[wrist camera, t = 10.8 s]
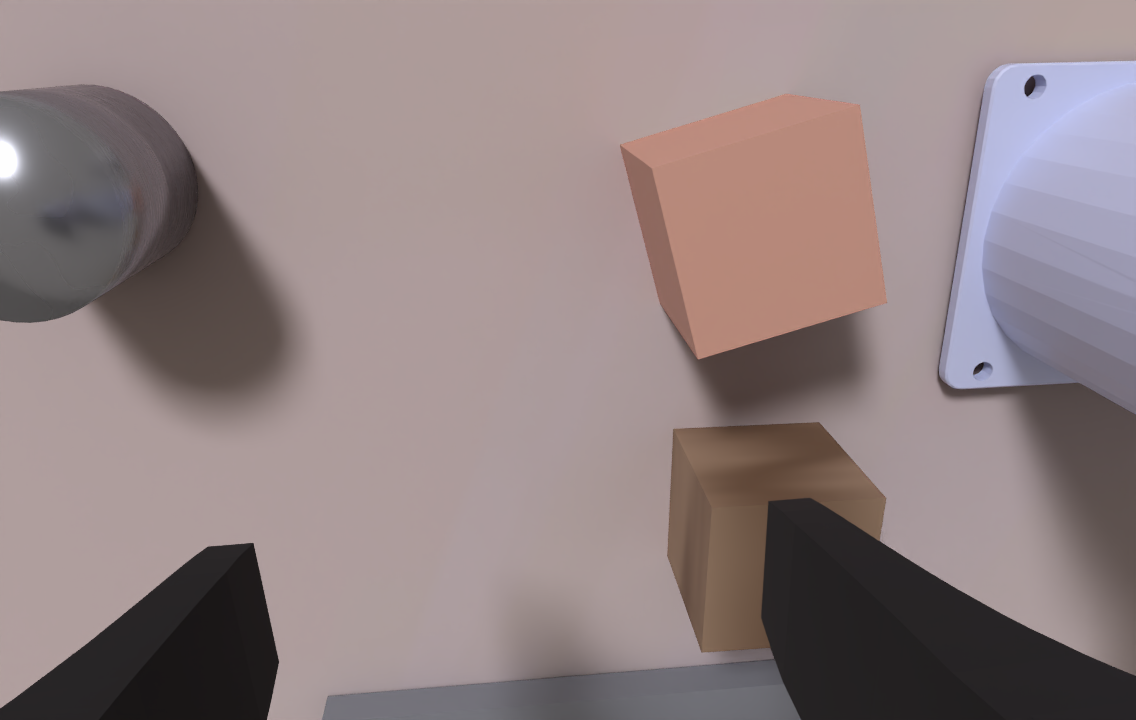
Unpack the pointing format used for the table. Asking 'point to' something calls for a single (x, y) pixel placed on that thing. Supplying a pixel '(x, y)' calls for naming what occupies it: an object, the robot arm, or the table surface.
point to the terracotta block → (758, 220)
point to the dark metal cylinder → (84, 196)
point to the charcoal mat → (590, 697)
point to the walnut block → (749, 516)
